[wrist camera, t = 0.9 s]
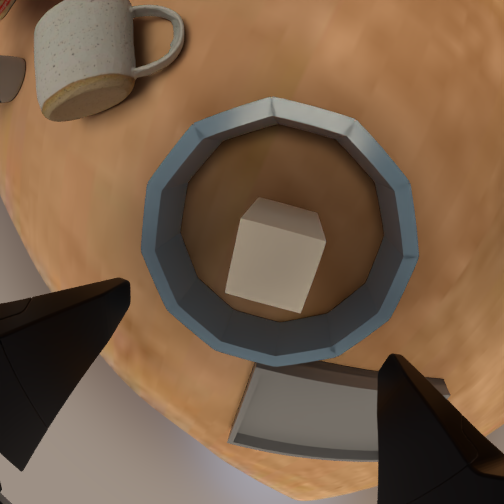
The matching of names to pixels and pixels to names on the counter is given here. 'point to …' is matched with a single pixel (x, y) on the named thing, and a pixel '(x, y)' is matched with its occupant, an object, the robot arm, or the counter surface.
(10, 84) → the lotion bottle
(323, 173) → the counter surface
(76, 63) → the ceramic mug
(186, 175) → the blue ring
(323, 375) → the tray
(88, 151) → the counter surface
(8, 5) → the lighter
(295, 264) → the beige rectangular block
